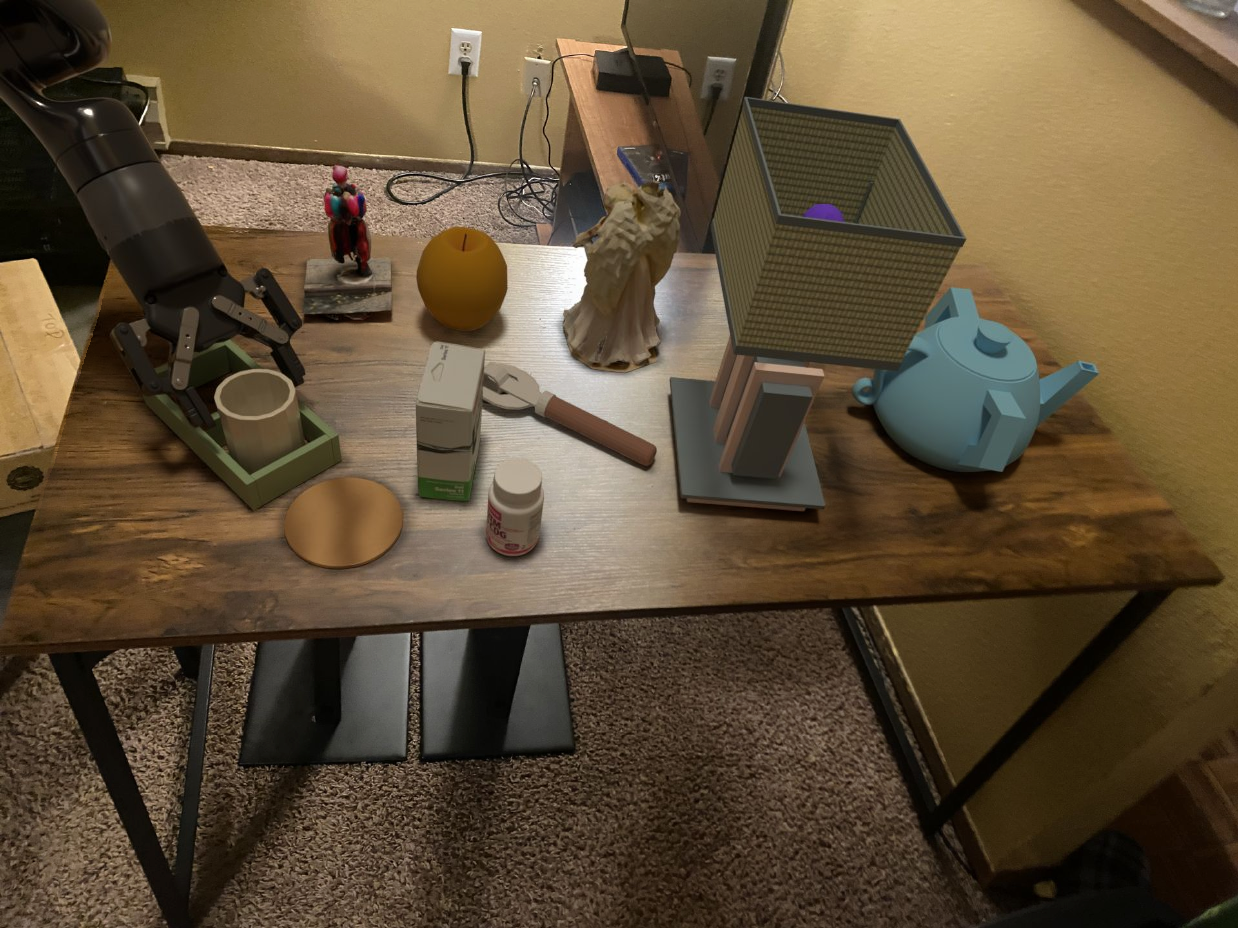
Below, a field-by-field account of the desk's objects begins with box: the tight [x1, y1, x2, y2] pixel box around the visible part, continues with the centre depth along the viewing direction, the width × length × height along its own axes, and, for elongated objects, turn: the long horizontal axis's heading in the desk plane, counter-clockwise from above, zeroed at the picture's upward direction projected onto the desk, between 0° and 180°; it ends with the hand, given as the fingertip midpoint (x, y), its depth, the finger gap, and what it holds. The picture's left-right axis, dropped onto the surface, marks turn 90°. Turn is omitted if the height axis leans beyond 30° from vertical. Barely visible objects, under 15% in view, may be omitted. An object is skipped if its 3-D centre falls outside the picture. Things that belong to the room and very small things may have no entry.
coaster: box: [283, 476, 404, 570], centre depth 74 cm, size 10×10×1 cm
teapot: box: [851, 286, 1100, 473], centre depth 91 cm, size 19×19×14 cm
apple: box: [415, 226, 509, 331], centre depth 91 cm, size 10×10×12 cm
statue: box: [301, 164, 393, 321], centre depth 91 cm, size 11×9×15 cm
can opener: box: [482, 361, 658, 467], centre depth 86 cm, size 20×6×3 cm, turn 68°
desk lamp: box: [669, 96, 967, 512], centre depth 75 cm, size 18×14×33 cm
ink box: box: [415, 341, 486, 502], centre depth 76 cm, size 9×5×12 cm, turn 179°
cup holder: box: [141, 339, 343, 511], centre depth 78 cm, size 18×9×4 cm, turn 49°
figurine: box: [562, 180, 682, 374], centre depth 90 cm, size 12×12×20 cm
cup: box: [213, 368, 306, 475], centre depth 75 cm, size 6×6×8 cm
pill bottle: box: [485, 457, 545, 557], centre depth 72 cm, size 5×5×8 cm
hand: (256, 406), depth 73 cm, fingers open, 8 cm apart
